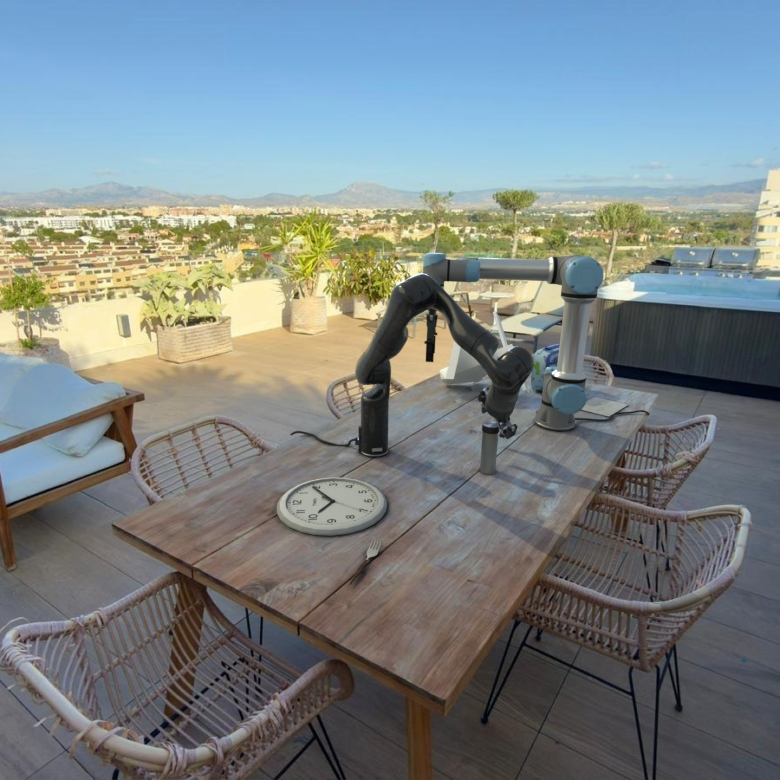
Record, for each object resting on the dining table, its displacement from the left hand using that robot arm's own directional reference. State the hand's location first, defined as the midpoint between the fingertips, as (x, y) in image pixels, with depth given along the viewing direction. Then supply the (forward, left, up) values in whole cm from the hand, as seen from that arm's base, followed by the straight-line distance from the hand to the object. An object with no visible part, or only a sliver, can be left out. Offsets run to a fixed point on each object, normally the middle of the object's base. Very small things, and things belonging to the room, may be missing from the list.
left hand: (493, 423), depth 147 cm
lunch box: (+10, +112, -20) cm, 114 cm away
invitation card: (+32, +93, -20) cm, 100 cm away
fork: (-20, -47, -20) cm, 55 cm away
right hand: (-30, +38, +8) cm, 49 cm away
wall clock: (-38, -26, -20) cm, 50 cm away
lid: (-2, +12, -5) cm, 13 cm away
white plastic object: (-21, +92, -20) cm, 97 cm away
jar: (-2, +12, -20) cm, 24 cm away
